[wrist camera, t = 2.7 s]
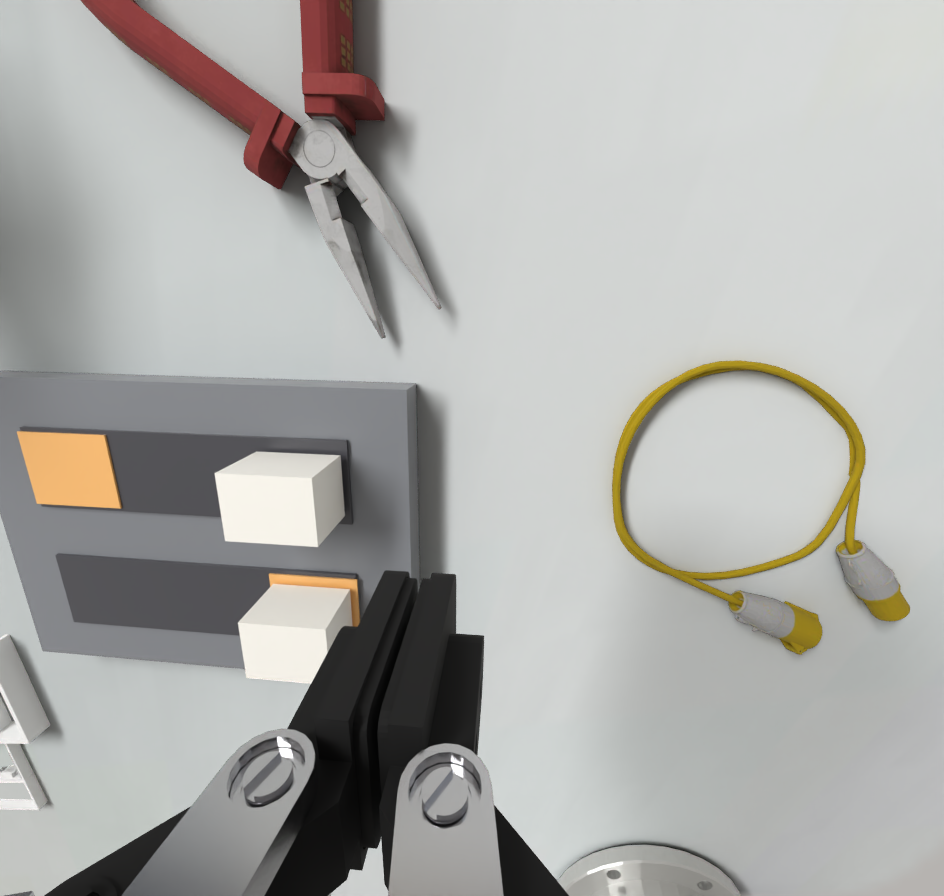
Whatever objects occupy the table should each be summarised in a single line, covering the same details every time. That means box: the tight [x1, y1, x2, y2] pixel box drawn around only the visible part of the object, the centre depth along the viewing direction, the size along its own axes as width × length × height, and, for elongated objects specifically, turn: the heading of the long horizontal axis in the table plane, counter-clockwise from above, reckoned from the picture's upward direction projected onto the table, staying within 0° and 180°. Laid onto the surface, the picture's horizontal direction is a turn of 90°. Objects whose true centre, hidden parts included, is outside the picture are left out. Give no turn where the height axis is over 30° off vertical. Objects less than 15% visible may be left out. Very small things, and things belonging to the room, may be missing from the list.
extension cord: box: [612, 361, 910, 654], centre depth 21 cm, size 12×16×2 cm
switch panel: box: [0, 371, 420, 669], centre depth 24 cm, size 22×16×2 cm
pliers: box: [81, 0, 441, 339], centre depth 18 cm, size 12×21×3 cm, turn 26°
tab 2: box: [238, 584, 353, 684], centre depth 21 cm, size 4×3×3 cm
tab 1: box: [215, 452, 345, 547], centre depth 19 cm, size 4×3×3 cm
